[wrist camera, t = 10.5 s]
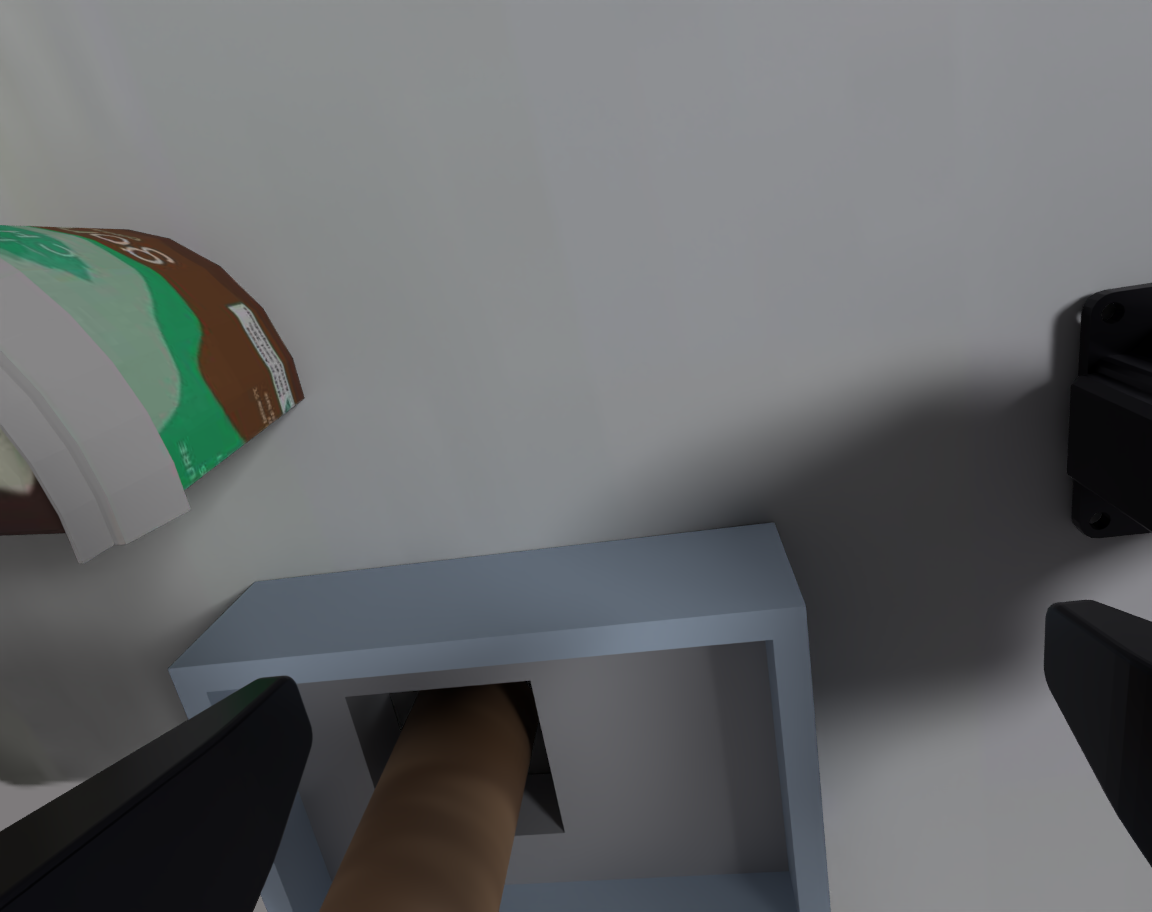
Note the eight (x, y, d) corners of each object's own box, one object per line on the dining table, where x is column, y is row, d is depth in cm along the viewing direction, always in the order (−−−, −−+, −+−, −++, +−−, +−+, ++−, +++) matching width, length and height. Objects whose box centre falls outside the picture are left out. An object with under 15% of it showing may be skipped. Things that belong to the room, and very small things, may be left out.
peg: (525, 653, 23) (456, 917, 15) (548, 755, 24) (496, 1052, 16) (405, 664, 24) (271, 925, 15) (433, 763, 25) (324, 1054, 17)
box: (774, 522, 21) (805, 605, 17) (802, 822, 24) (833, 954, 20) (254, 581, 23) (167, 668, 19) (348, 848, 27) (292, 972, 22)
